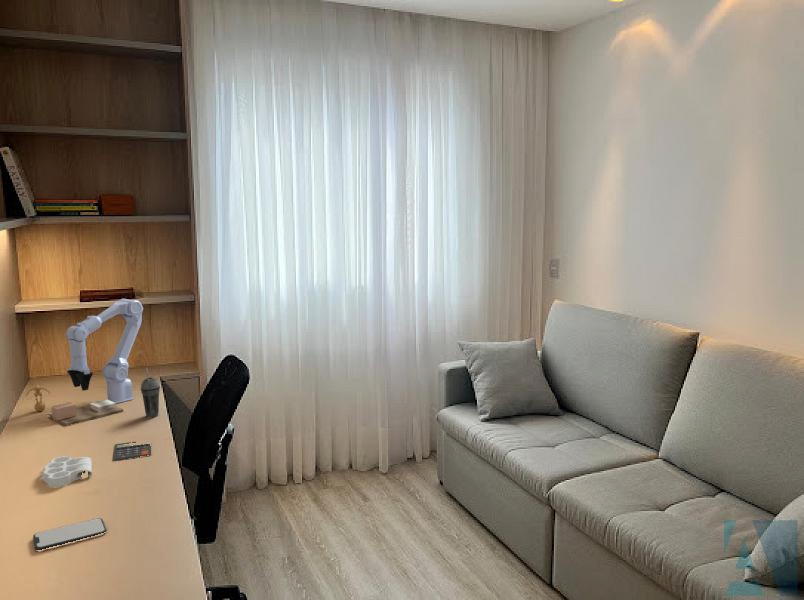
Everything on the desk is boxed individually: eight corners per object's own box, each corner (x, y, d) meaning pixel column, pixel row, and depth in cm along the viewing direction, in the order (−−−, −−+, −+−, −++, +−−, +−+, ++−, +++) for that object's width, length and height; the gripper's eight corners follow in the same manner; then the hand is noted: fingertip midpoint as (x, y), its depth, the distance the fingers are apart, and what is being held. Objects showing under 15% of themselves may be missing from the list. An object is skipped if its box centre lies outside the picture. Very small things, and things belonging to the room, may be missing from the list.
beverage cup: (166, 414, 253) (162, 365, 250) (152, 419, 246) (148, 370, 243) (152, 411, 256) (149, 363, 253) (138, 417, 250) (134, 368, 246)
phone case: (102, 522, 169) (33, 539, 160) (101, 516, 169) (32, 533, 160) (107, 536, 162) (35, 555, 153) (107, 530, 161) (35, 549, 153)
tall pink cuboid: (71, 413, 251) (70, 402, 251) (76, 415, 248) (75, 404, 247) (52, 417, 246) (51, 406, 245) (57, 420, 243) (56, 409, 242)
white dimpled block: (92, 482, 192) (37, 492, 186) (92, 461, 208) (41, 470, 202) (91, 472, 192) (36, 481, 185) (91, 451, 208) (40, 460, 201)
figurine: (52, 408, 261) (49, 380, 259) (50, 412, 256) (48, 384, 254) (29, 410, 258) (26, 382, 256) (27, 415, 253) (24, 386, 251)
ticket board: (105, 403, 267) (104, 396, 266) (123, 411, 257) (122, 404, 256) (49, 417, 250) (49, 409, 250) (66, 426, 240) (65, 418, 240)
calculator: (112, 459, 207) (115, 443, 221) (113, 462, 207) (115, 446, 221) (151, 454, 211) (150, 438, 225) (151, 456, 212) (151, 441, 225)
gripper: (60, 354, 256) (63, 387, 258) (75, 360, 247) (78, 393, 249) (78, 351, 262) (81, 383, 264) (94, 357, 252) (96, 389, 254)
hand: (81, 388), depth 257 cm, fingers open, 7 cm apart
